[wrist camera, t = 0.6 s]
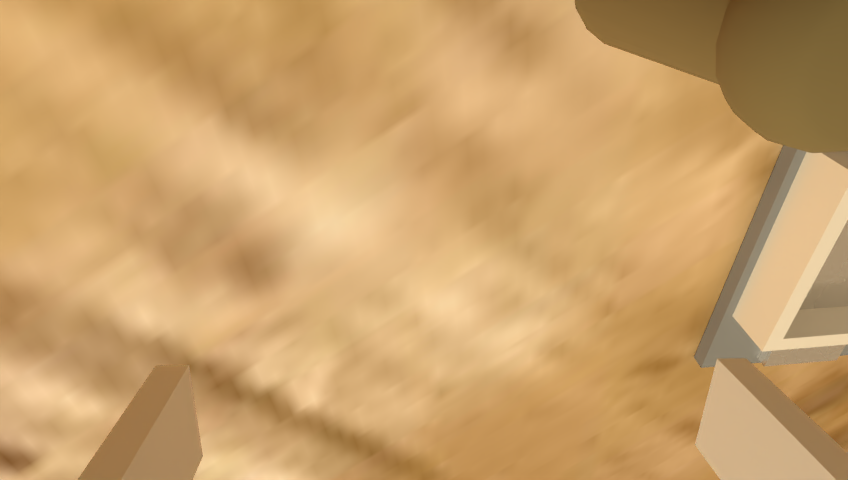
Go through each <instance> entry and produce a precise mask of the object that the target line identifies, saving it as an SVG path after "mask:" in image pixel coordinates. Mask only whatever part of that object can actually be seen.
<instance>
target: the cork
mask: <svg viewBox="0 0 848 480" xmlns="http://www.w3.org/2000/svg"><path fill="white" fill-rule="evenodd" d="M575 5H576V9H577V11H578V13H579V15H580V17H581V18H582V20H583V22H584V24H585V26H586V28H587V29H588V30H589V31H590V32H591V33H592V34H593V35H595V36H596V37H597V38H598V39H599V40H601V41H602V42H603V43H604V44H607V45H610V46H612V47H615V48H618V49H621V50H624V51H626V52H629V53H632V54H635V55H638V56H641V57H643V58H646V59H649V60H652V61H655V62H657V63H660V64H663V65H666V66H669V67H671V68H674V69H677V70H680V71H683V72H685V73H688V74H691V75H694V76H697V77H700V78H702V79H705V80H708V81H711V82H714V83H716V84H719V85H720V87H721V90H722V92H723V94H724V97H725V99H726V101H727V103H728V104H729V106H730V107H731V109H732V111H733V112H734V113H735V114H736V115H737V116H738V117H739V118H740V119H741V120H742V121H743V122H745V123H746V124H747V125H748V126H749V127H750V128H751V129H752V130H754V131H755V132H756V133H758V134H759V135H761V136H762V137H763V138H765V139H766V140H768V141H771V142H775V143H778V144H781V145H785V146H788V147H791V148H795V149H798V150H802V151H806V152H809V153H825V152H841V151H848V0H575Z"/></svg>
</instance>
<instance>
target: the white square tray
mask: <svg viewBox="0 0 848 480" xmlns="http://www.w3.org/2000/svg"><path fill="white" fill-rule="evenodd" d="M847 220H848V151H841V152H825V153H809V152H806V154H805V156H804V159H803V161H802V163H801V165H800V167H799V170H798V172H797V174H796V176H795V179H794V181H793V183H792V185H791V187H790V190H789V192H788V194H787V196H786V198H785V201H784V203H783V205H782V207H781V210H780V212H779V214H778V216H777V218H776V221H775V223H774V225H773V227H772V229H771V232H770V234H769V236H768V238H767V240H766V243H765V245H764V247H763V249H762V252H761V254H760V256H759V258H758V260H757V263H756V265H755V267H754V269H753V271H752V274H751V276H750V278H749V280H748V282H747V285H746V287H745V289H744V291H743V294H742V296H741V298H740V300H739V302H738V305H737V307H736V309H735V311H734V313H733V317H734V319H735V320H736V321H737V322H738V323H739V325H740V326H741V327H742V328H743V329H744V331H745V332H746V333H747V334H748V335H749V337H750V338H751V339H752V340H753V341H754V342H755V344H756V345H757V346H758V347H759V348H760V350H761V351H762V352H764V351H775V350H787V349H799V348H811V347H823V346H835V345H847V344H848V306H841V307H828V308H814V309H801V310H799V309H800V307H801V305H802V303H803V301H804V300H805V298H806V296H807V294H808V292H809V290H810V289H811V287H812V285H813V283H814V281H815V279H816V277H817V276H818V274H819V272H820V270H821V268H822V266H823V265H824V263H825V261H826V259H827V257H828V255H829V253H830V252H831V250H832V248H833V246H834V244H835V242H836V241H837V239H838V237H839V235H840V233H841V231H842V229H843V228H844V226H845V224H846V222H847Z"/></svg>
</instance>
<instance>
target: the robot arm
mask: <svg viewBox="0 0 848 480" xmlns="http://www.w3.org/2000/svg"><path fill="white" fill-rule="evenodd" d="M695 445H696V447H697V448H698V450H699V451H700V452H701V454H702V455H703V456H704V458H705V459H706V461H707V462H708V463H709V465H710V466H711V467H712V469H713V470H714V471H715V473H716V474H717V476H718V477H719V478H720V480H848V453H847V452H846V451H845V450H844V449H843V448H842V447H841V446H840V445H839V444H837V443H836V442H835V441H834V440H833V439H832V438H831V437H830V436H829V435H828V434H827V433H826V432H825V431H823V430H822V429H821V428H820V427H819V426H818V425H817V424H816V423H815V422H814V421H813V420H812V419H811V418H810V417H808V416H807V415H806V414H805V413H804V412H803V411H802V410H801V409H800V408H799V407H798V406H797V405H796V404H795V403H793V402H792V401H791V400H790V399H789V398H788V397H787V396H786V395H785V394H784V393H783V392H782V391H781V390H780V389H778V388H777V387H776V386H775V385H774V384H773V383H772V382H771V381H770V380H769V379H768V378H767V377H766V376H764V375H763V374H762V373H761V372H760V371H759V370H758V369H757V368H756V367H755V366H754V365H753V364H752V363H751V362H749V361H748V360H747V359H746V358H725V359H717V361H716V365H715V369H714V373H713V377H712V381H711V384H710V388H709V392H708V396H707V400H706V404H705V408H704V412H703V416H702V420H701V424H700V428H699V432H698V435H697V439H696V443H695ZM202 456H203V455H202V448H201V442H200V435H199V428H198V422H197V415H196V409H195V402H194V396H193V389H192V382H191V376H190V369H189V365H156V366H155V368H154V369H153V370H152V372H151V373H150V375H149V376H148V378H147V379H146V381H145V382H144V384H143V385H142V387H141V388H140V389H139V391H138V392H137V394H136V395H135V397H134V398H133V400H132V401H131V403H130V404H129V405H128V407H127V408H126V410H125V411H124V413H123V414H122V416H121V417H120V419H119V420H118V422H117V423H116V424H115V426H114V427H113V429H112V430H111V432H110V433H109V435H108V436H107V438H106V439H105V441H104V442H103V443H102V445H101V446H100V448H99V449H98V451H97V452H96V454H95V455H94V457H93V458H92V459H91V461H90V462H89V464H88V465H87V467H86V468H85V470H84V471H83V473H82V474H81V476H80V477H79V478H78V480H193V477H194V475H195V473H196V470H197V468H198V466H199V463H200V461H201V459H202Z"/></svg>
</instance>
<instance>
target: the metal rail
mask: <svg viewBox="0 0 848 480" xmlns="http://www.w3.org/2000/svg"><path fill="white" fill-rule="evenodd" d="M841 306H848V220H847V222H846V224H845V226H844V228H843V229H842V231H841V233H840V235H839V237H838V239H837V241H836V242H835V244H834V246H833V248H832V250H831V252H830V253H829V255H828V257H827V259H826V261H825V263H824V265H823V266H822V268H821V270H820V272H819V274H818V276H817V277H816V279H815V281H814V283H813V285H812V287H811V289H810V290H809V292H808V294H807V296H806V298H805V300H804V301H803V303H802V305H801V307H800V309H799V310H801V309H814V308H828V307H841ZM845 346H846V345H835V346H823V347H811V348H799V349H787V350H775V351H764V352H762V351H761V350H760V352H759V354H758V355H757V358H758V359H759V361H760V362H761V363H762V364H763V366H774V365H785V364H797V363H808V362H819V361H831V360H837V359H838V357H839V356H840V354H841V352H842V351H843V349H844V348H845Z"/></svg>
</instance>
